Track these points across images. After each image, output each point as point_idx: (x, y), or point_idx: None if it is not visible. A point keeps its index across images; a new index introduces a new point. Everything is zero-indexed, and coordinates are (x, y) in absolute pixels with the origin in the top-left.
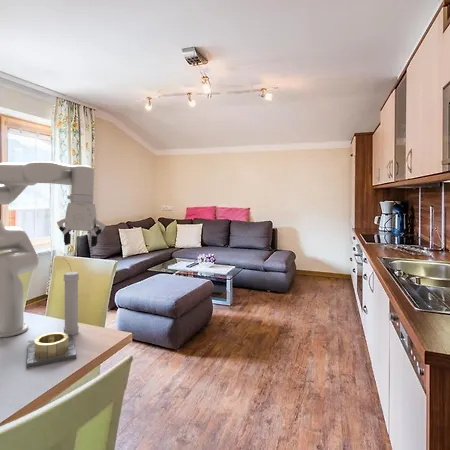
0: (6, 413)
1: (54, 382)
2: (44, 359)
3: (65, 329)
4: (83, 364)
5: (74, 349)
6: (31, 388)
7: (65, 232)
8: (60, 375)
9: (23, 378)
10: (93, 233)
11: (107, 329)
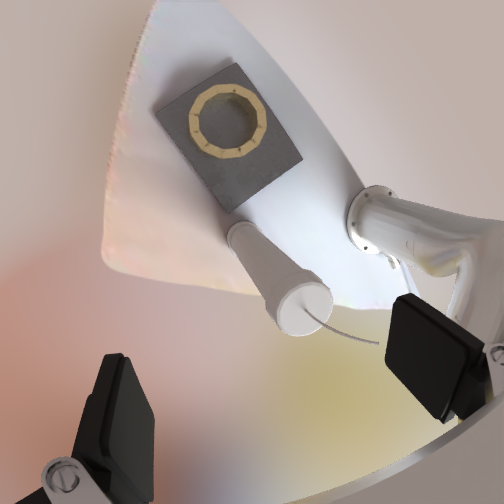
0: None
1: (150, 33)
2: (211, 81)
3: (252, 224)
4: (126, 98)
5: (171, 134)
6: (181, 13)
7: (497, 363)
8: (151, 53)
9: (216, 35)
10: (77, 494)
11: (167, 279)
